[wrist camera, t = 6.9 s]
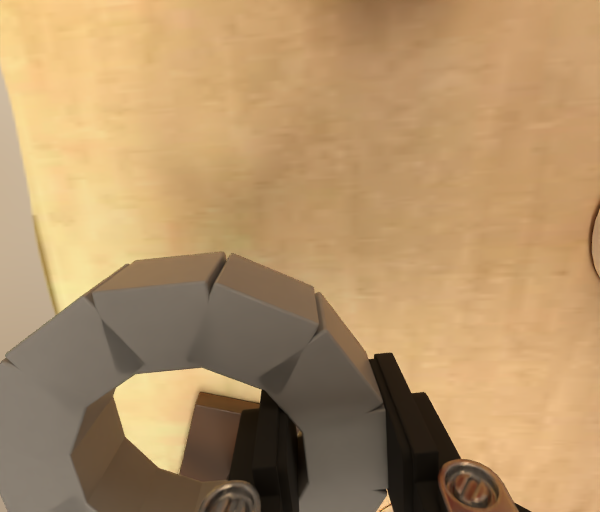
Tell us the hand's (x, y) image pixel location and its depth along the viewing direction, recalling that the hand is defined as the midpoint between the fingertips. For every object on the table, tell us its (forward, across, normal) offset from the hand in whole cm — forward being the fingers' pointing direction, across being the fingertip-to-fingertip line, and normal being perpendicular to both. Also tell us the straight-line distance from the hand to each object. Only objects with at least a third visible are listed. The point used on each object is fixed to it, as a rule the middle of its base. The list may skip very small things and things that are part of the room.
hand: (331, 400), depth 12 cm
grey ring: (0, +4, 0) cm, 4 cm away
